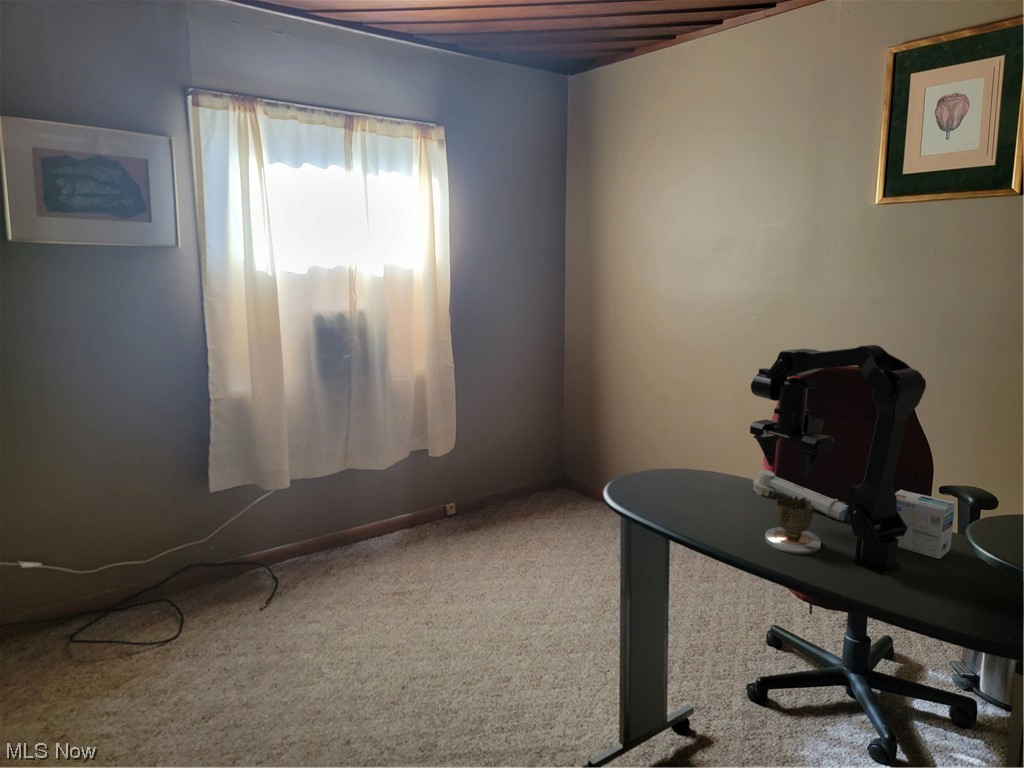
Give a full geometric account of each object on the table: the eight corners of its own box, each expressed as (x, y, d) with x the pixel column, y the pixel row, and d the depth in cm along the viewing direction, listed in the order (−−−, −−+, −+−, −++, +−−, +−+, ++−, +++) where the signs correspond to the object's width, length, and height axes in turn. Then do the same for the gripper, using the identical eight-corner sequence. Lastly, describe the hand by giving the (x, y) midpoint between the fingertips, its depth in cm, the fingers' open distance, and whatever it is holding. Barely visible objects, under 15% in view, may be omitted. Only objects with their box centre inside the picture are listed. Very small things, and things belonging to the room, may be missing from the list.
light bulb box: (951, 550, 138) (957, 501, 136) (940, 560, 134) (946, 509, 132) (895, 534, 146) (900, 488, 144) (883, 543, 142) (888, 495, 140)
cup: (769, 529, 146) (771, 495, 145) (803, 529, 146) (806, 495, 144) (781, 544, 139) (783, 508, 137) (817, 544, 139) (820, 508, 137)
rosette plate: (831, 546, 140) (832, 541, 140) (795, 558, 135) (796, 552, 135) (789, 528, 150) (789, 522, 150) (753, 538, 145) (754, 532, 145)
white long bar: (842, 508, 151) (751, 466, 171) (836, 534, 153) (747, 489, 173) (855, 503, 154) (764, 462, 174) (849, 529, 156) (760, 485, 176)
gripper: (853, 409, 144) (847, 477, 147) (783, 393, 160) (779, 455, 163) (818, 415, 139) (813, 486, 142) (750, 398, 155) (746, 462, 158)
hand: (787, 471), depth 152 cm, fingers open, 9 cm apart
